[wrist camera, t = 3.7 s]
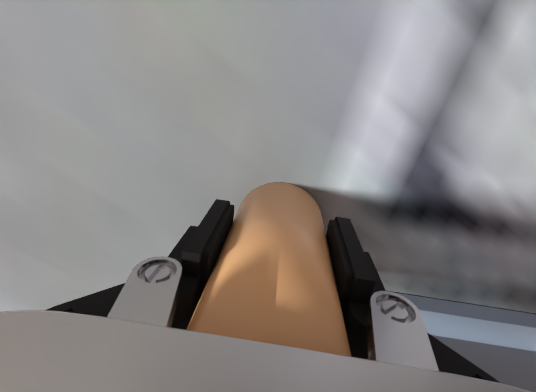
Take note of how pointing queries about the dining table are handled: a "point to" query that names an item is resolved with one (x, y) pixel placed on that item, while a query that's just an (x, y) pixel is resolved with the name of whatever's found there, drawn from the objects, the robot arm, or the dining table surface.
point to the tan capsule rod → (275, 276)
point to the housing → (485, 337)
